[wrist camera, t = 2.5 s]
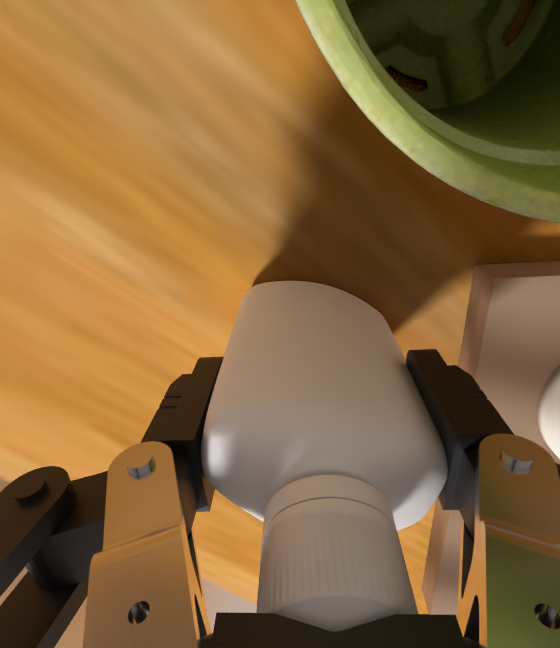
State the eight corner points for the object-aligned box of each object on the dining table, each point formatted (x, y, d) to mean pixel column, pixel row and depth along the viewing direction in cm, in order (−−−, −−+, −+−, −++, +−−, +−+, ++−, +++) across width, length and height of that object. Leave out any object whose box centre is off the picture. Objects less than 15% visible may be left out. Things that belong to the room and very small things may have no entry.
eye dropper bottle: (322, 393, 17) (372, 870, 6) (221, 314, 15) (34, 760, 4) (400, 329, 15) (665, 813, 4) (297, 232, 13) (303, 608, 3)
